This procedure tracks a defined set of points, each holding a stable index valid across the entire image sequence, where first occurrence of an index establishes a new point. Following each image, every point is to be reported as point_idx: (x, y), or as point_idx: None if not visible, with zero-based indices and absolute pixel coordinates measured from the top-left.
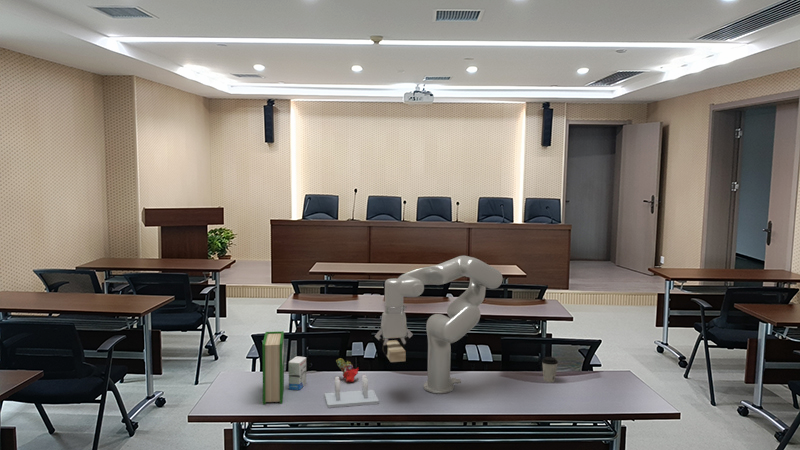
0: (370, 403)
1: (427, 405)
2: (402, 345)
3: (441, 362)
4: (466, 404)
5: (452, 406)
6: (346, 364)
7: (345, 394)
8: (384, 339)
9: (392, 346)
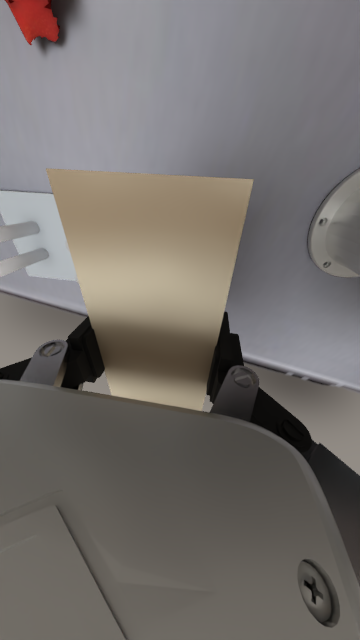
0: None
1: (248, 323)
2: (210, 395)
3: None
4: (334, 343)
5: (296, 342)
6: None
7: (54, 219)
8: (42, 380)
9: (141, 363)
